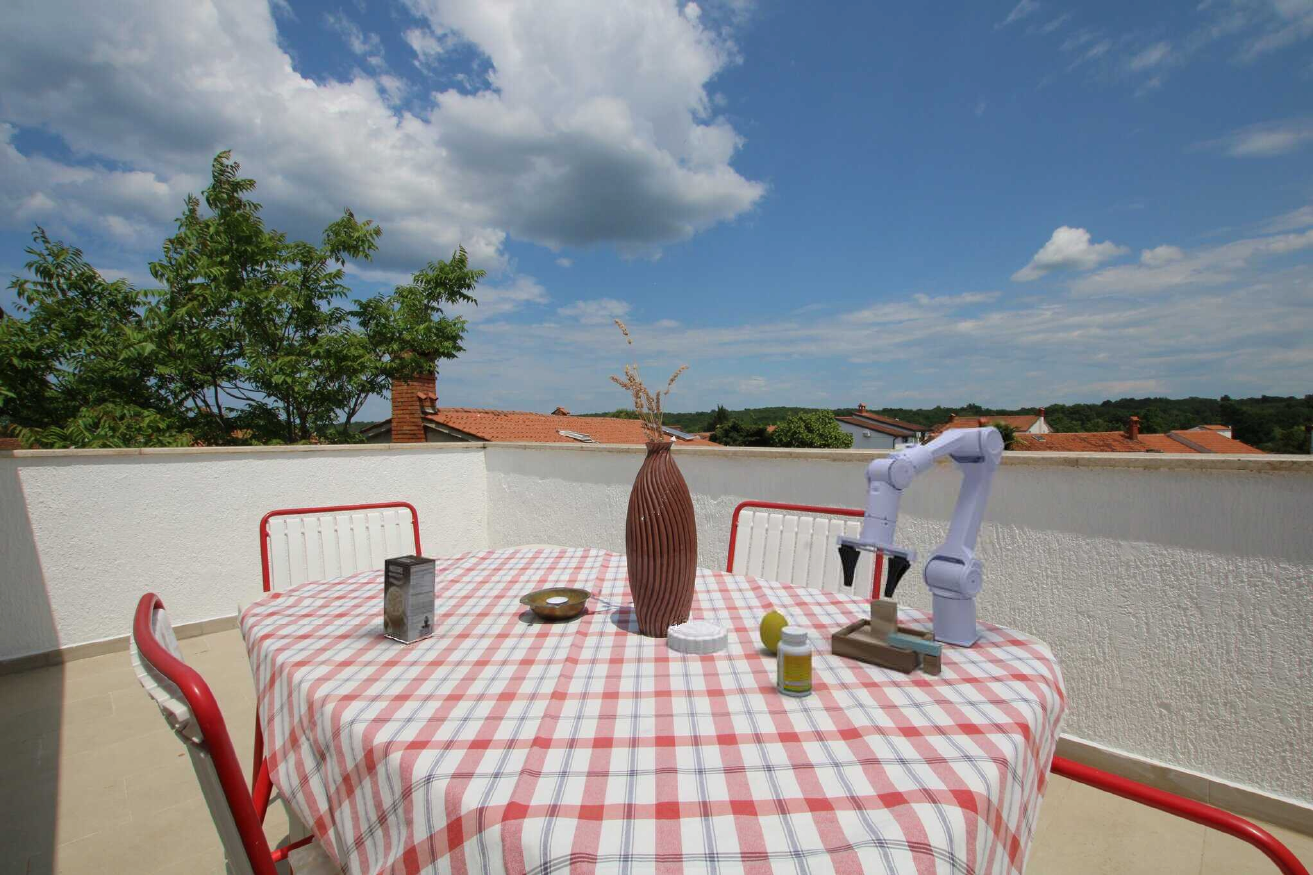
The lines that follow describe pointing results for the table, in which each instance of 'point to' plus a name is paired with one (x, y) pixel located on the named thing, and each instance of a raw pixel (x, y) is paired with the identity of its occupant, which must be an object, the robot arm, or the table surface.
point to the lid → (880, 624)
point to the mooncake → (697, 637)
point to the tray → (885, 651)
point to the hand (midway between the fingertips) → (867, 591)
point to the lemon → (772, 630)
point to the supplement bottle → (794, 662)
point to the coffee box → (409, 597)
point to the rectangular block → (914, 644)
